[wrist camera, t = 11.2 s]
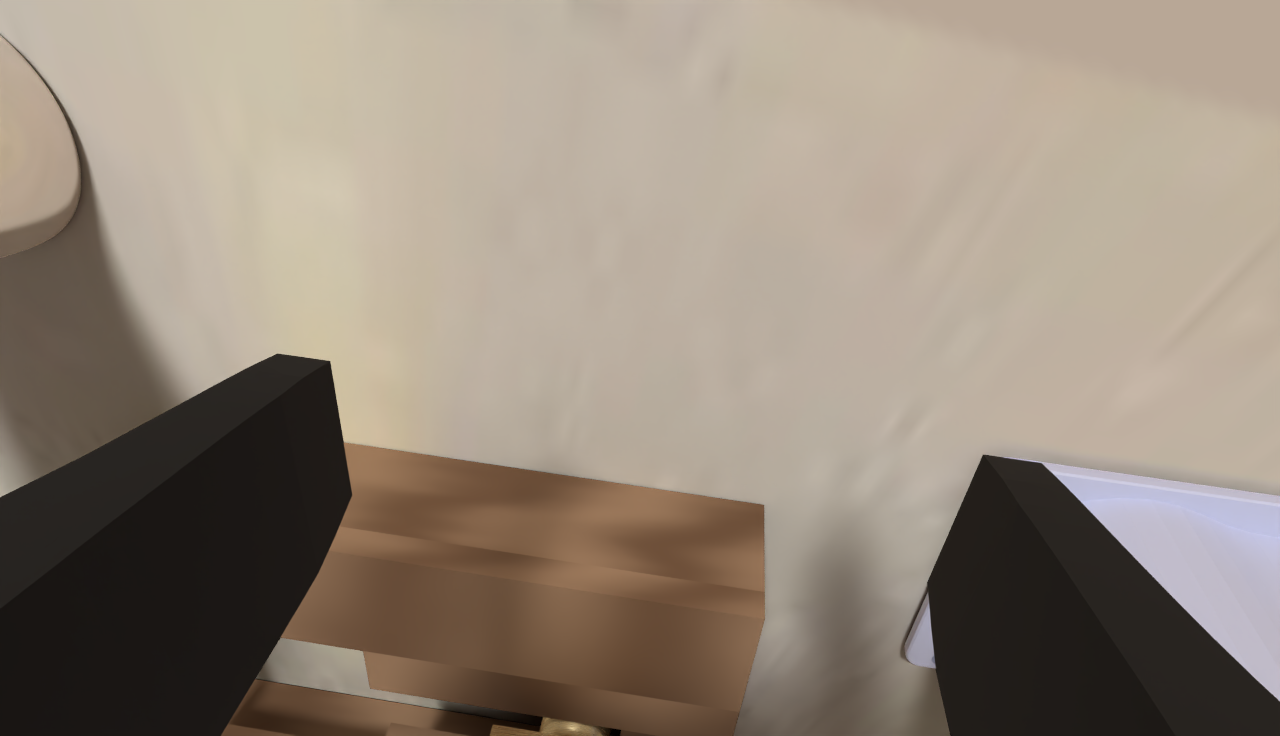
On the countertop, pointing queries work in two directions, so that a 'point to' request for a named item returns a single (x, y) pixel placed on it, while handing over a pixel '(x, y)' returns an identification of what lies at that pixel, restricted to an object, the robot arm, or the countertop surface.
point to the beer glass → (33, 158)
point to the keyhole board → (526, 604)
